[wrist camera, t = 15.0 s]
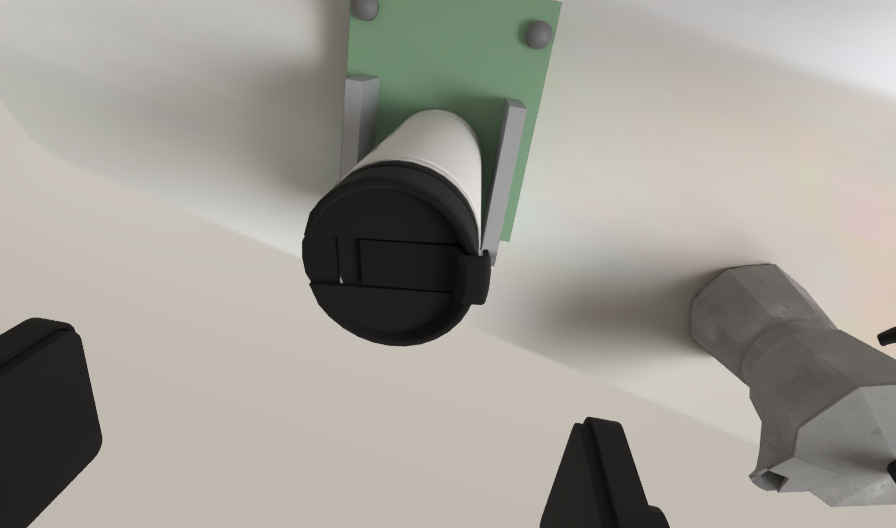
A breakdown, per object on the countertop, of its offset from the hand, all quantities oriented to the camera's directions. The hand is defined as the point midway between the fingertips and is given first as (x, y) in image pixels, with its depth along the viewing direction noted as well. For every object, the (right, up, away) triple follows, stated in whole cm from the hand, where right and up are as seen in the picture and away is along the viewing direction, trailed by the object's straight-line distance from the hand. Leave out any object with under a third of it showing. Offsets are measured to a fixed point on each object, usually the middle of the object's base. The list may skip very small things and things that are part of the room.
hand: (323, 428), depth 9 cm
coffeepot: (+28, 0, +31) cm, 41 cm away
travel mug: (+2, +11, +25) cm, 27 cm away
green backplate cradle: (+2, +14, +26) cm, 29 cm away
